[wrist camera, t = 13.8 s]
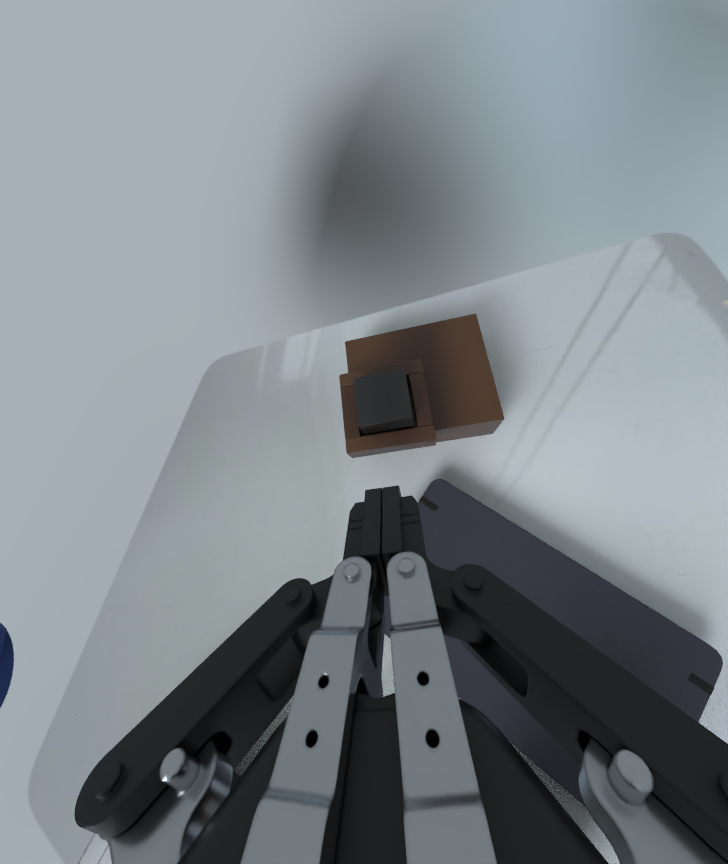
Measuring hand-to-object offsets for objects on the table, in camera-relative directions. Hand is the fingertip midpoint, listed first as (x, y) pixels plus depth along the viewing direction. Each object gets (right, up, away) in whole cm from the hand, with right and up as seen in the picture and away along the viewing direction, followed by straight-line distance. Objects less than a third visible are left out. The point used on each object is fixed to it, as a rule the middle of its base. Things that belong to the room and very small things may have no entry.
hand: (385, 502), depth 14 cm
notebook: (+11, -12, +10) cm, 19 cm away
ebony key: (+1, +5, +11) cm, 12 cm away
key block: (+4, +7, +16) cm, 18 cm away
